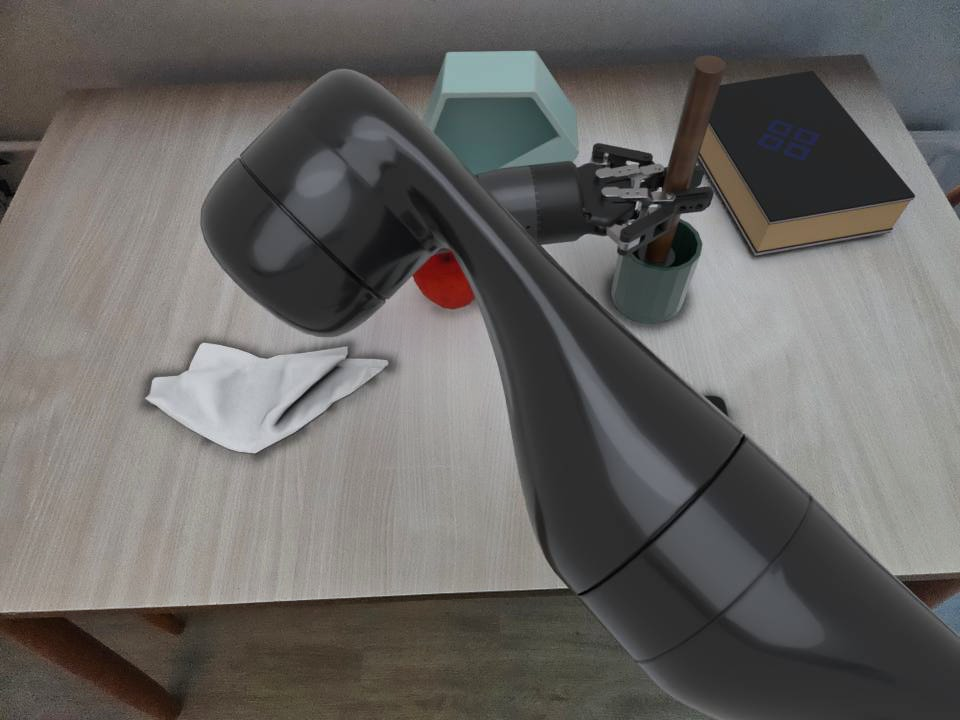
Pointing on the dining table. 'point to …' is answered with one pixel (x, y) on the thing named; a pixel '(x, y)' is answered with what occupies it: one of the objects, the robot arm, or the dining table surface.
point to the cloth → (257, 392)
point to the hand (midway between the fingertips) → (705, 186)
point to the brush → (686, 149)
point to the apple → (444, 282)
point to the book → (797, 166)
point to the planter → (501, 111)
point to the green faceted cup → (657, 280)
